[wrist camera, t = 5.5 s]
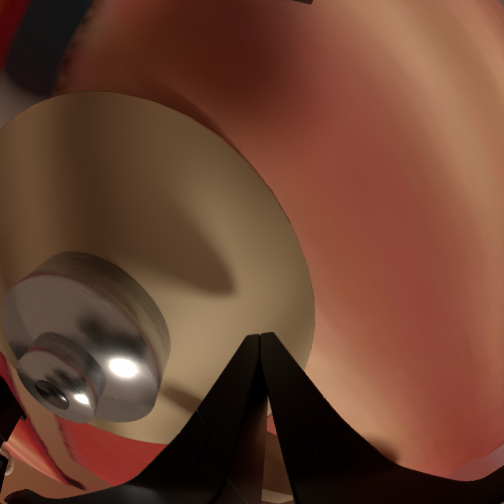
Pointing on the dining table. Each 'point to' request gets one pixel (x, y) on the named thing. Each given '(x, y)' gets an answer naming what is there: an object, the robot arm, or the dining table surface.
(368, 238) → the dining table surface
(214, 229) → the tan piece
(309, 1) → the dial gauge
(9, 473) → the teacup with lid
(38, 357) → the cover
